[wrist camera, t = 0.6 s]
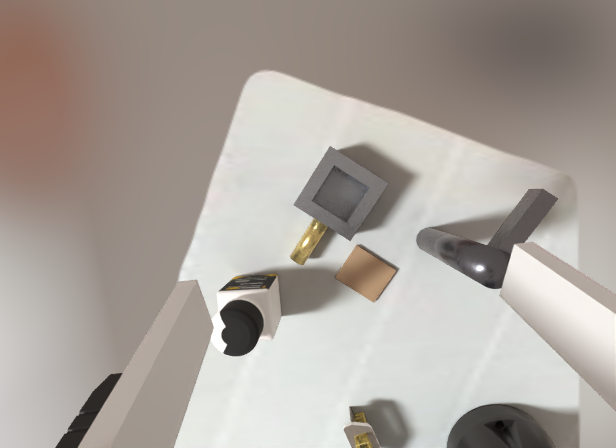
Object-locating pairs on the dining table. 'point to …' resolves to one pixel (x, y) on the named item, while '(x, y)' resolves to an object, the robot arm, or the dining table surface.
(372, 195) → the block
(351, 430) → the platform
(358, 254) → the copper plate
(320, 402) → the dining table surface
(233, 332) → the medicine bottle
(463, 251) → the chuck key
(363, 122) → the dining table surface
